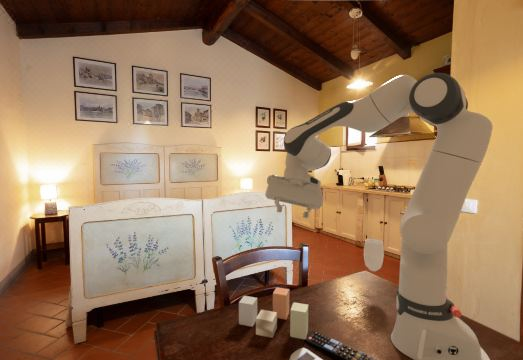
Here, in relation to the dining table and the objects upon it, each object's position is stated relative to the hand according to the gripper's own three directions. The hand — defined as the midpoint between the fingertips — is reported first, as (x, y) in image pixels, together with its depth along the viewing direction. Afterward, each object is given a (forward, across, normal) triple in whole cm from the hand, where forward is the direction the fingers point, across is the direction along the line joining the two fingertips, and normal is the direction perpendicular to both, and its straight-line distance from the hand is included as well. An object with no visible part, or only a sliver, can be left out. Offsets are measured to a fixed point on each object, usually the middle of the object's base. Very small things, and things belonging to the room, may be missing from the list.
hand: (292, 214), depth 92 cm
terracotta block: (+29, +4, +15) cm, 33 cm away
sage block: (+34, +7, +6) cm, 36 cm away
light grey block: (+33, -7, +15) cm, 37 cm away
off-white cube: (+35, -2, +9) cm, 36 cm away
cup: (+16, +40, +20) cm, 47 cm away
